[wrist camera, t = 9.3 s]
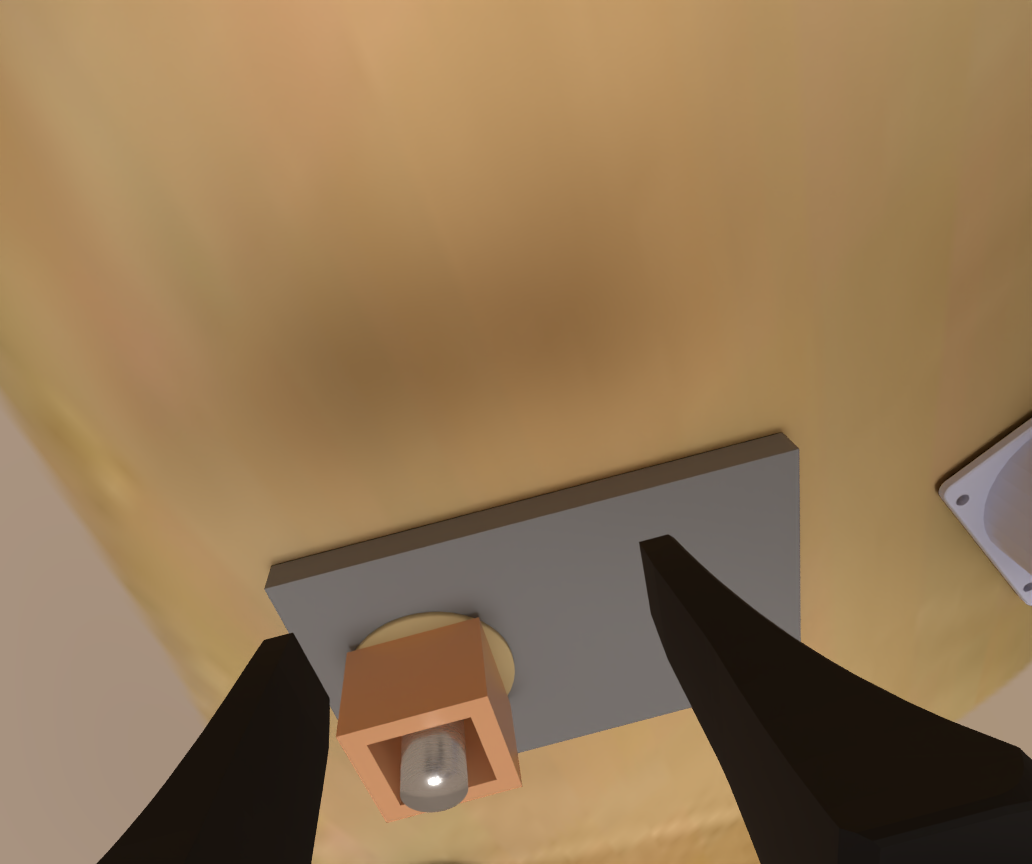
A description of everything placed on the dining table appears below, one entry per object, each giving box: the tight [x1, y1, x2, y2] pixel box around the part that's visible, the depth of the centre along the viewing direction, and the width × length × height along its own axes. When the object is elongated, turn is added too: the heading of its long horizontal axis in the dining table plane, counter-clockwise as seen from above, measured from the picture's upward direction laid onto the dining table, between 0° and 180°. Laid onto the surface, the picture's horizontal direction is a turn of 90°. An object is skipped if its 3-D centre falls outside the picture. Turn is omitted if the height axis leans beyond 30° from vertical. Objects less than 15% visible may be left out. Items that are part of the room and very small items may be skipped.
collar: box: [336, 617, 522, 823], centre depth 24 cm, size 5×5×4 cm
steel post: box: [400, 719, 468, 812], centre depth 24 cm, size 2×2×6 cm
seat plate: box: [264, 433, 801, 753], centre depth 26 cm, size 19×12×2 cm, turn 103°
